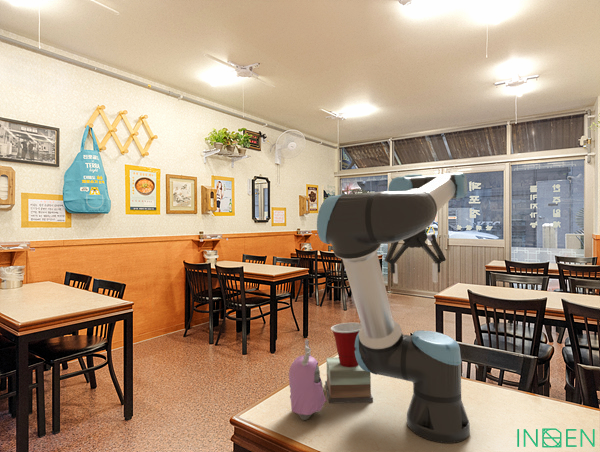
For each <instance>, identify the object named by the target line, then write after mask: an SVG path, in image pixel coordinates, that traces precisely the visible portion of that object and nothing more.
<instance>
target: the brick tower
mask: <svg viewBox="0 0 600 452" xmlns="http://www.w3.org/2000/svg"><path fill="white" fill-rule="evenodd" d="M324 385H325V389H326V394H327V399H328V403H329V404H335V403H337V404H338V403H339V404H341V403H343V404H344V403H373V402H374V397H373V395H372V386H371V385H372V384H371V372H367V371H365V370H363V369H362V368H361V367H360V366H359V364H358V366H355V367H345V366H342V365H341V364H340V361H339V356H338V357H326V380H324Z"/></svg>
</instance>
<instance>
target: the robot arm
mask: <svg viewBox="0 0 600 452" xmlns="http://www.w3.org/2000/svg"><path fill="white" fill-rule="evenodd" d="M387 189H388V190H387V191H384V190H383V191H375V192H359V193H340V194H337V195H335V194H334V195H330V196H328V197H326V199H324V200H323V201H322V203H321V204H320V207H319V209H318V214H317V218H316V231H317V236H318V238H319V240H320V241H321V242H322V243H324V244H327V245H331V248H332V250H333V254H334V255H335V257H337V258H338V259H341V260H342V264H343V266H344V269H345V272H346V273H345V274H346V276H347V279H348V284H349V286H350V287H349V288H350V291H351V295H352V297H353V301H354V305H355V309H356V312H357V314H358V320H359V321H360V323H361V326H362V327H361V329H360V331H359V333H358V335H357V337H356V340H355V348H356V350H355V357H356V360H357V363H358V364H359V366H360V367H361V368H362V369H363V370H365V371H367V372H370V374H373V375H379V376H383V377H388V378H392V379H398V380H403V381H406V382H412V385H413V386H412V387H413V388H412V390H413V391H412V393H413V394H412V396H411V399H410V403H409V406H408V409H407V412H406V426H408V429H409V430H410V431H412V433H414V434H415V435H417V436H419V437H421V438H423V439H425V440H429V441H431V442H437V443H442V444H443V443H444V444H445V443H447V444H451V443H460V442H462V441H464V440H466V439H467V438H469V436H470V432H471V429H470V425H471V424H470V421H469V417H468V413H467V411H466V409H465V407H464V404H463V400H462V357H461V348H460V345H459V343H458V342H457V340H456V339H454V338H452V337H451V336H449V335H447V334H443V333H441V332H439V331H438V332H437V331H432V330H415V331H414V332H412V335H409V334H403V332H402V327H401V325H400V324H399V323H398V322H397V321H395V320H394V317H393V314H392V310H391V304H390V300H389V298H388V297H389V296H388V292H387V289H386V288H387V287H386V284H385V280H384V275H383V272H382V267H381V263H380V259H379V255H378V250H379V249H380V248H381V246H382V244H383V245H385V244H387V245H388V244H391V245H390V247H389V249H388V252H387V254H386V255H385V257H384V261H385V262H386V263H389V267H390V268H389V269H390V271H389V272H390V273H391V274H393V275H392V276H393V277H392V279H393V280H392V281H393V284H395V285H396V284H397V285H398V283H399V281H398V276H399V275H398V263H397V262H398V260H399V259H400V258H401V256H402V255H403V254H404V253H405V251H406V250H408V248H409V249H412V248H413V249H414V248H418V249H419V248H422V250H423V251H424V252H426V254H427V255H428V256H429V257H430V259H431V260H433V262H432V263H431V268H432V269H431V270H432V272H431V273H432V274H431V275H432V276H431V277H432V283H434V284H438V283H439V281H438V279H439V277H438V274H439V273H441V263H442V262H446V260H447V259H446V257H445V255H444V253H443V251H442V249H441V247H440V245H439V244H438V241H437V237H436V234H435V233H434V234H433V233H431V234H427V228H429V226H430V225H432V224H433V222H434V221H435V219H436V218H437V215H438V212H439V210H441V209H442V208H443V207H444V206H445V205H446V204H447V203H448V202H449V201H450V200H453V199H455V200H457V199H464V198H465V197H466V196H467V195H468V178H467V175H466V174H465V173H464V172H450V173H441V174H433V175H423V174H416V173H415V174H414V173H413V174H405V175H403V176H400V175H399V176H396V177H394V178H392V180H391V181H390V182H389V184H388V188H387ZM427 240H428V241H429V242H430V244H431V246H432V248H433V250H434V252H433V250H432V249H431V247H429V245H428V244H427V243H426V242H427ZM401 241H403V244H402V245H401V247H400V248H399V249H398V250H397V251H396V249H397V247H398V245H399V242H401ZM395 251H396V252H395ZM394 253H395V254H394ZM435 253H436V254H435Z"/></svg>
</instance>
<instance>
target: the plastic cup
mask: <svg viewBox="0 0 600 452" xmlns="http://www.w3.org/2000/svg"><path fill="white" fill-rule="evenodd" d="M361 327H362V326H361V323H359V322H342V323H337V324H335V325H332V326H331V327H330V330H331V331H332V333H333V336H334V340H335V346H336V350H337V355H338V357H339V361H340V364H341V365H342V366H345V367H355V366H358V363H357V360H356V357H355V350H356V348H355V340H356V337H357V335H358V333H359V331H360V329H361Z"/></svg>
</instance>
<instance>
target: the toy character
mask: <svg viewBox="0 0 600 452" xmlns="http://www.w3.org/2000/svg"><path fill="white" fill-rule="evenodd" d="M309 342H310V340H309V339H305V340H304V351H305V353H304V354H303V355H299V356H297V357H296V358H295V359H294V360H293V362H291V364H290V367H289V370H288V381H289V382H288V383H289V388H290V389H289V392H290V396H289V398H290V405H291V409H290V410H291V412H293V413H295V414H298V417H299V418H300V419H301V420H303V421H308V419H309V418H310V417H312V414H315V413H317V412H320V411H322V408H323V406H324V404H325V403H326V402H327V398H326V396H325V394H324V389H323V388H324V387H323V381H322V378H321V371H320V367H319V361H318V360H317V359H316V358H315V357H314V356H312V355H311V351H312V348H310V346H309V345H310V344H309Z"/></svg>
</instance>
